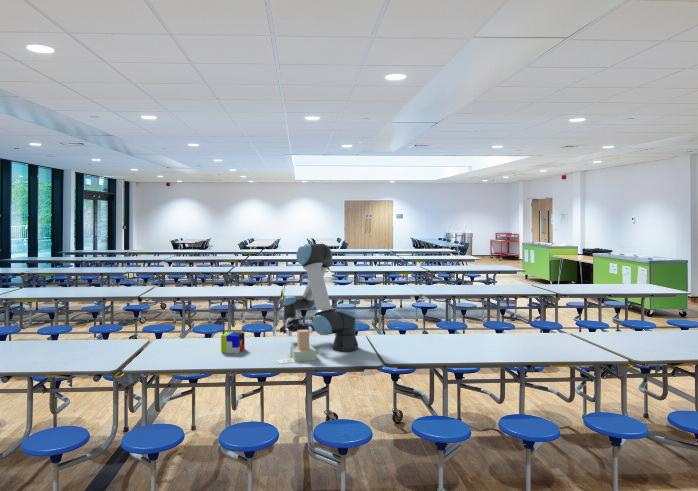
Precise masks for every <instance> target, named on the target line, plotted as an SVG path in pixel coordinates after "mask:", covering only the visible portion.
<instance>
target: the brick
mask: <svg viewBox="0 0 698 491" xmlns="http://www.w3.org/2000/svg"><path fill="white" fill-rule="evenodd" d="M296 333H297V334H296V336H297V337H296V338H297V345H296V347H297V348H298V349H299V350H309V346H310V332H309V330H297V331H296Z"/></svg>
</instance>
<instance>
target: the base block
mask: <svg viewBox="0 0 698 491" xmlns="http://www.w3.org/2000/svg"><path fill="white" fill-rule="evenodd" d="M290 357H291V358H293V360H294V361H298V362H304V361H305V362H306V361H316V360H317V350H316V348H314V346H313V345H309V350H299V349H298V348H297V346H290Z"/></svg>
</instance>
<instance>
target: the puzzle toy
mask: <svg viewBox="0 0 698 491" xmlns="http://www.w3.org/2000/svg"><path fill="white" fill-rule="evenodd" d="M245 349H246V348H245V332H244V331H243V332H242V331H241V332H239V331H227V332H225V333H223V334H221V335H220V353H221V352H224V353H225V354H239V353H241V352H242V351H244V350H245Z"/></svg>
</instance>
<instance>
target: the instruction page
mask: <svg viewBox="0 0 698 491" xmlns="http://www.w3.org/2000/svg"><path fill="white" fill-rule="evenodd" d="M275 361H276V362H277V364H280V365H283V364H290V363H297V362H299V361H294V360H293V358H292V357H291V358H285V359H275Z"/></svg>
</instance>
